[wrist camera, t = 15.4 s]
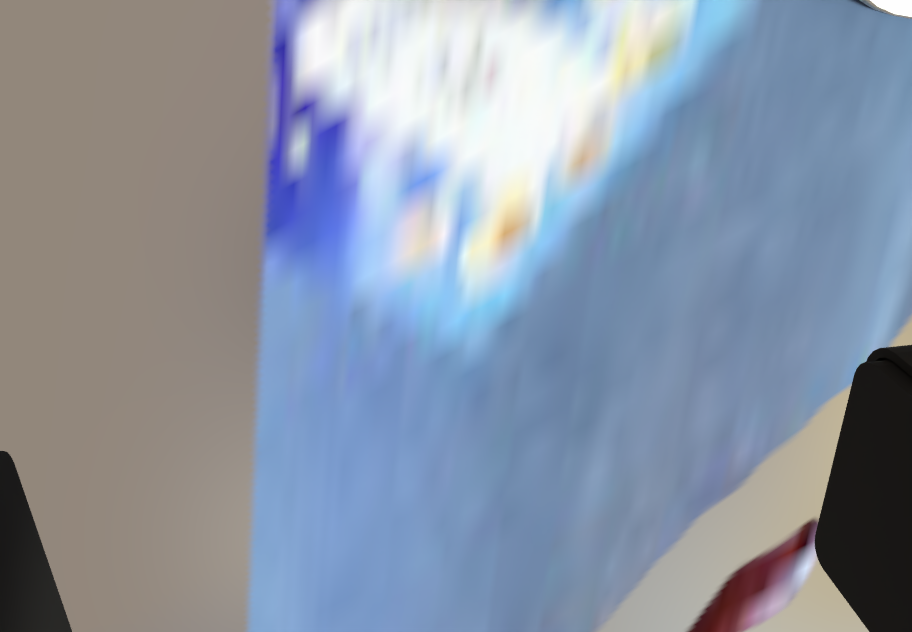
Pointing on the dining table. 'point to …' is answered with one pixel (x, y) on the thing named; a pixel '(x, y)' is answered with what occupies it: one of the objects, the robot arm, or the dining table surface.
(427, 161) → the dining table surface
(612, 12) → the dining table surface
